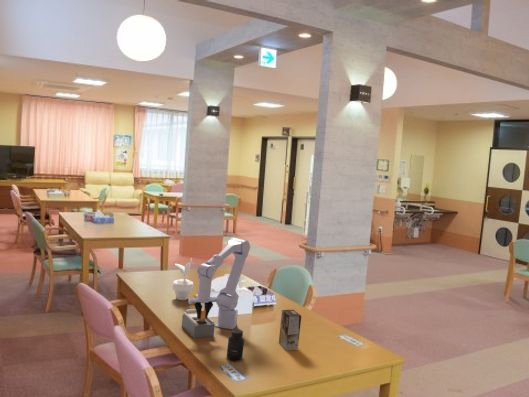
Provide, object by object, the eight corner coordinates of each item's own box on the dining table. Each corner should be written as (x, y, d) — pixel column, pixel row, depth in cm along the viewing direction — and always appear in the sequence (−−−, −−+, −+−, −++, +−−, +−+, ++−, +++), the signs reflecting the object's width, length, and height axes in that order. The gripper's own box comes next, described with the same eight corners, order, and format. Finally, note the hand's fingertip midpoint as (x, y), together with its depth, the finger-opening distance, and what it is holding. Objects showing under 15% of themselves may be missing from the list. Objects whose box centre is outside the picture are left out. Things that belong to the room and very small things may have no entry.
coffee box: (298, 349, 225) (302, 315, 224) (285, 350, 223) (289, 316, 221) (290, 342, 233) (293, 309, 232) (277, 342, 231) (281, 309, 230)
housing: (181, 326, 240) (182, 312, 239) (200, 324, 245) (201, 310, 244) (193, 338, 226) (195, 323, 225) (213, 336, 231) (215, 321, 230)
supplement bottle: (230, 362, 204) (232, 334, 203) (223, 355, 210) (226, 328, 209) (245, 360, 207) (247, 333, 206) (238, 354, 213) (241, 327, 212)
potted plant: (196, 299, 284) (200, 256, 282) (182, 303, 274) (186, 259, 272) (179, 294, 291) (183, 252, 289) (166, 297, 281) (169, 255, 279)
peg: (205, 320, 233) (206, 309, 232) (203, 322, 230) (204, 311, 229) (199, 319, 233) (200, 308, 233) (197, 321, 230) (198, 310, 230)
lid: (185, 314, 240) (186, 309, 239) (199, 313, 243) (199, 308, 243) (191, 319, 234) (191, 314, 233) (204, 317, 237) (205, 313, 237)
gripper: (193, 292, 223) (190, 321, 224) (222, 291, 230) (219, 319, 231) (187, 288, 229) (185, 316, 230) (216, 286, 236) (213, 314, 238)
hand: (202, 317), depth 231 cm, fingers closed on peg, 3 cm apart
